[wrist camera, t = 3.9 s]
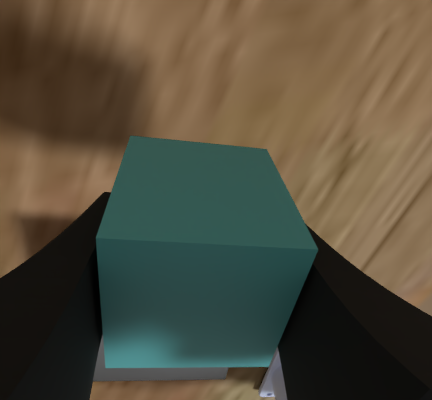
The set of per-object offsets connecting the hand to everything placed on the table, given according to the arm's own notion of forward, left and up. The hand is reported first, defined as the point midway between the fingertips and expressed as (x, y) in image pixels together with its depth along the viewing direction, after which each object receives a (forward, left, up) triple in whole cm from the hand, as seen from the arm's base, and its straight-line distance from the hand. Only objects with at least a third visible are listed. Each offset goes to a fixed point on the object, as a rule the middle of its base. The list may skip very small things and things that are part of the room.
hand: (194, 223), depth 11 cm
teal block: (0, 0, -1) cm, 1 cm away
